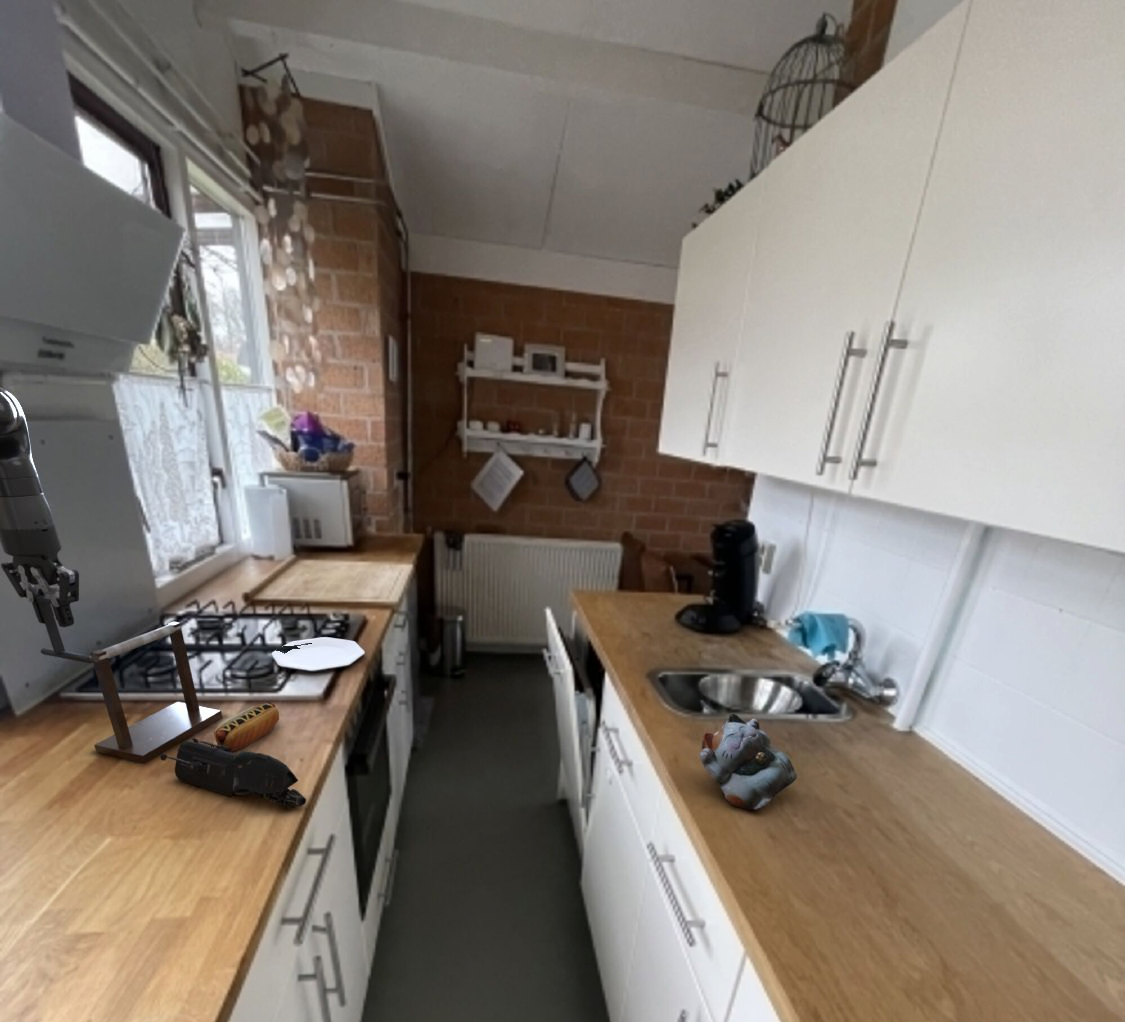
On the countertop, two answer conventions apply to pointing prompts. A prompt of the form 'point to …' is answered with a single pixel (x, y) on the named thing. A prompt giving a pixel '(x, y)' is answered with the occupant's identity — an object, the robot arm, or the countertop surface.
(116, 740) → the rail stand
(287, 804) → the black toy vehicle
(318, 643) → the plate
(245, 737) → the hot dog
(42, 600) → the hanger
